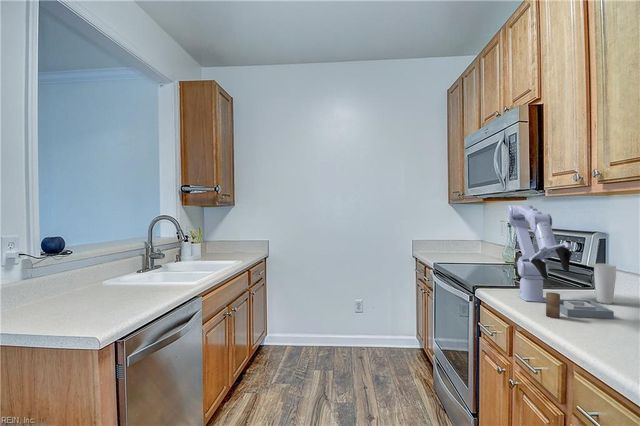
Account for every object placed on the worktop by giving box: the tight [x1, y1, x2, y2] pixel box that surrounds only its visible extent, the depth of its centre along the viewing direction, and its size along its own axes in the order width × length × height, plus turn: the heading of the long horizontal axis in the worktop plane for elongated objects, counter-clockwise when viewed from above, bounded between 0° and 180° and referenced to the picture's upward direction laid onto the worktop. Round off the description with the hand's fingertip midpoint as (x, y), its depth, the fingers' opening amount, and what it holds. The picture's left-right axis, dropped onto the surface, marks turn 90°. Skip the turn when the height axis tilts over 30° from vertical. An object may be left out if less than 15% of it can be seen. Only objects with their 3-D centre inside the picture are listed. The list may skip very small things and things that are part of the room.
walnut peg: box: [545, 291, 561, 319], centre depth 121 cm, size 4×4×8 cm
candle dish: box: [560, 298, 615, 320], centre depth 127 cm, size 14×14×3 cm
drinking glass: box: [593, 263, 617, 305], centre depth 138 cm, size 7×7×15 cm
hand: (555, 273), depth 121 cm, fingers open, 7 cm apart
